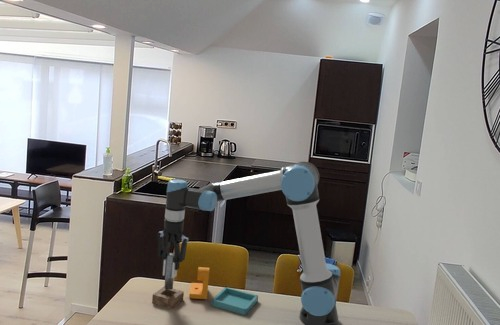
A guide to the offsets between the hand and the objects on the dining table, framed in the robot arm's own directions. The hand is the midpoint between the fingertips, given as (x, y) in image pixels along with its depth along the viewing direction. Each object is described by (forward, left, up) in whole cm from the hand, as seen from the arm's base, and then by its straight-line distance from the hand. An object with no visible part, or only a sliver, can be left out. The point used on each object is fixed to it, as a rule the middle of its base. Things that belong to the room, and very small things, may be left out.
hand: (169, 275), depth 182 cm
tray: (-24, -13, -11) cm, 29 cm away
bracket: (-8, -12, -11) cm, 18 cm away
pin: (0, 0, -5) cm, 5 cm away
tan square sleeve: (0, 0, -11) cm, 11 cm away
